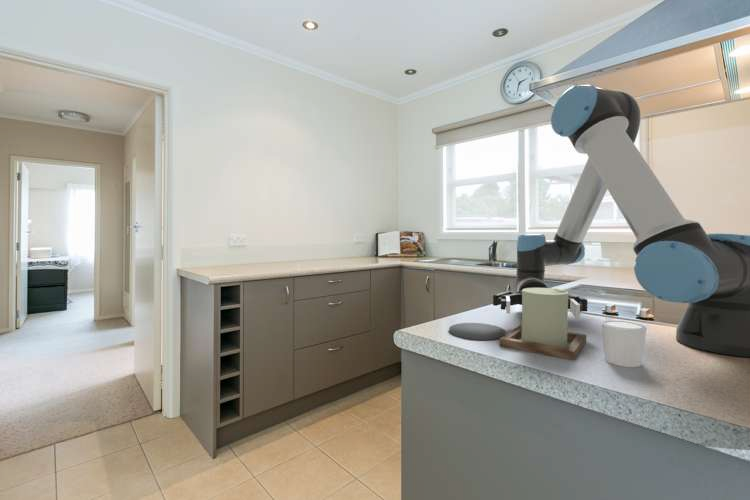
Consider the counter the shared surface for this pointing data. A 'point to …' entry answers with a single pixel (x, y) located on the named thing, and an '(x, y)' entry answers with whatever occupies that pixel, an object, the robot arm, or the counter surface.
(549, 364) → the counter surface
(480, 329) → the mat
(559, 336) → the can
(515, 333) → the pocket
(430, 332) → the counter surface
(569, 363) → the counter surface
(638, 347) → the shot glass
